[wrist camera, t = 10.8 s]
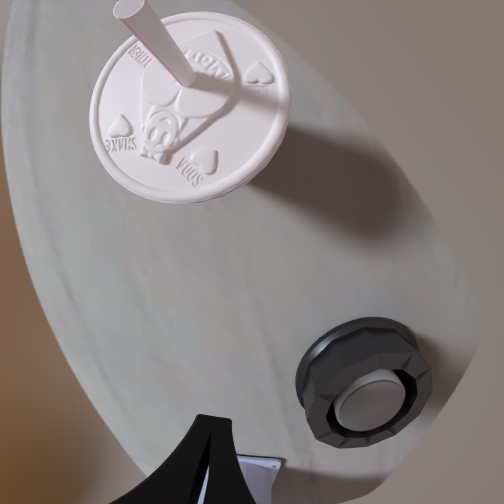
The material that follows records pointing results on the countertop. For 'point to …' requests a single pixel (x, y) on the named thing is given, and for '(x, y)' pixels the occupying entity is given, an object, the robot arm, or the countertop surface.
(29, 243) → the countertop surface
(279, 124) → the smoothie
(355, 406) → the cap
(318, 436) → the dark grey pot
